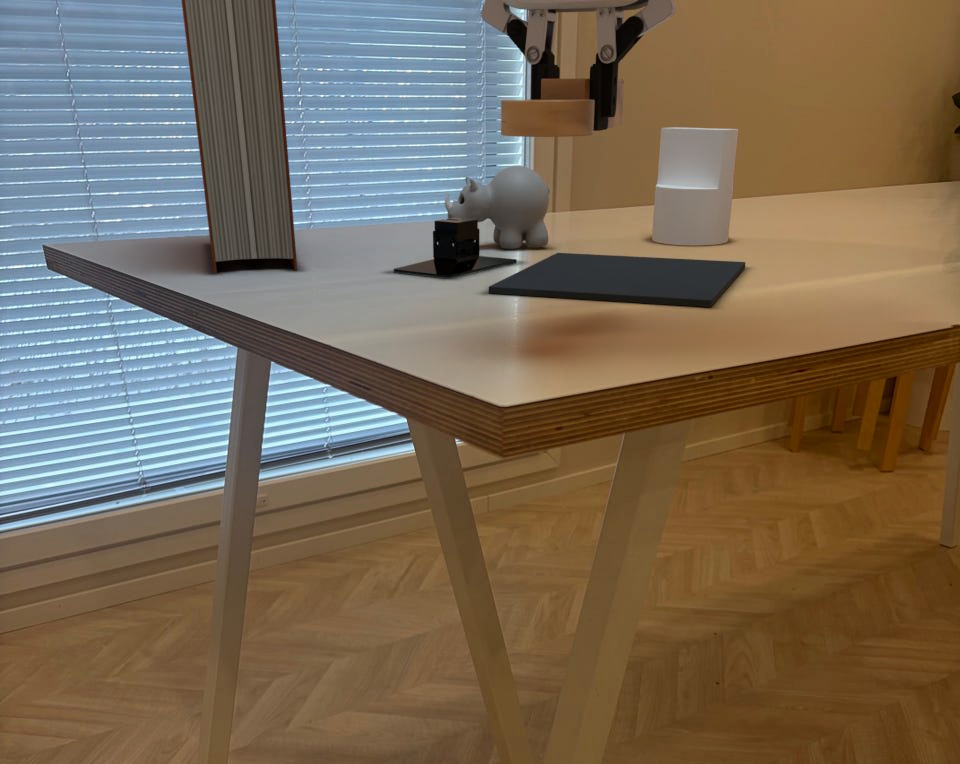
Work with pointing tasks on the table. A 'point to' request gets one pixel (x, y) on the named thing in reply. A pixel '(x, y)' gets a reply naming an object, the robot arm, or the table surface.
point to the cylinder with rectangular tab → (694, 186)
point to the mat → (624, 279)
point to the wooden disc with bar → (557, 110)
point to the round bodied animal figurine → (507, 206)
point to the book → (241, 127)
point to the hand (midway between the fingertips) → (572, 126)
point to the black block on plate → (455, 252)
